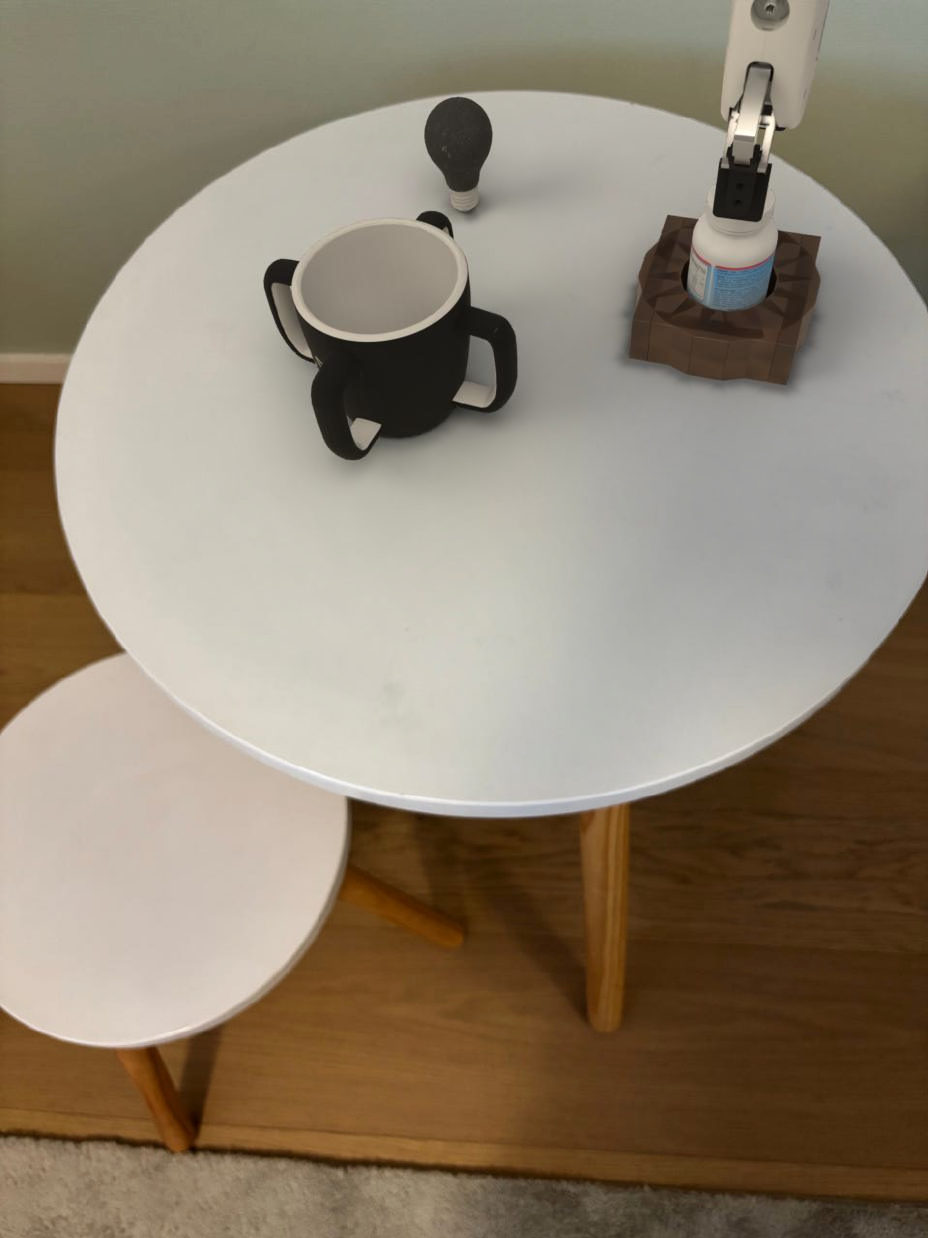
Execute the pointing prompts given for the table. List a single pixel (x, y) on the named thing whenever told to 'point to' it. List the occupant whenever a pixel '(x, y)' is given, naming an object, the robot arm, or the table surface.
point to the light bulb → (459, 147)
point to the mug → (388, 330)
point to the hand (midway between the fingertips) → (750, 170)
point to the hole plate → (723, 312)
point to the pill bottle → (732, 258)
